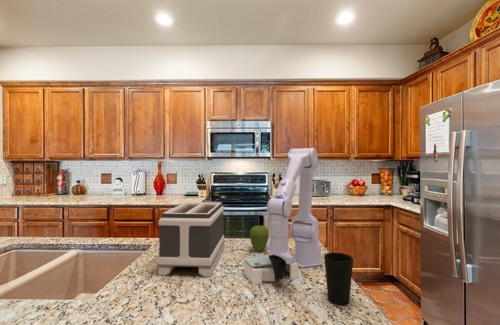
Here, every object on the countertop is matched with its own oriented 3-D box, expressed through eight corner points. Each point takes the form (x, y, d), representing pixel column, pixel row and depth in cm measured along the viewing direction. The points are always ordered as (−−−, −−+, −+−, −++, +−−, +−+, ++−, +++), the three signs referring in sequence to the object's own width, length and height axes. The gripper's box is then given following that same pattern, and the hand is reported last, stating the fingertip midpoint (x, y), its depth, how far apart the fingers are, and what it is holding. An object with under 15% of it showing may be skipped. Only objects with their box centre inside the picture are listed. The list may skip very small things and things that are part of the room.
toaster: (225, 246, 120) (226, 200, 121) (210, 278, 86) (211, 214, 87) (186, 245, 122) (187, 200, 122) (156, 276, 87) (157, 214, 88)
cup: (350, 310, 67) (350, 264, 67) (320, 302, 71) (320, 258, 71) (355, 298, 73) (355, 255, 74) (328, 291, 77) (328, 250, 78)
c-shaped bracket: (285, 267, 95) (285, 255, 95) (298, 277, 87) (298, 263, 87) (244, 273, 90) (244, 260, 90) (253, 285, 81) (253, 270, 81)
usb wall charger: (260, 277, 87) (260, 265, 87) (281, 277, 87) (280, 265, 87) (261, 282, 83) (261, 269, 83) (282, 282, 83) (282, 269, 83)
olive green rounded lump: (258, 246, 120) (258, 221, 120) (272, 250, 114) (273, 224, 114) (245, 251, 113) (245, 224, 114) (259, 255, 108) (259, 227, 108)
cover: (285, 254, 95) (285, 252, 95) (295, 261, 88) (295, 258, 88) (244, 259, 90) (244, 257, 90) (251, 267, 83) (251, 264, 83)
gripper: (258, 231, 88) (258, 271, 88) (278, 243, 74) (277, 291, 74) (277, 229, 90) (277, 268, 90) (299, 241, 77) (299, 287, 76)
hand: (279, 278), depth 82 cm, fingers closed
